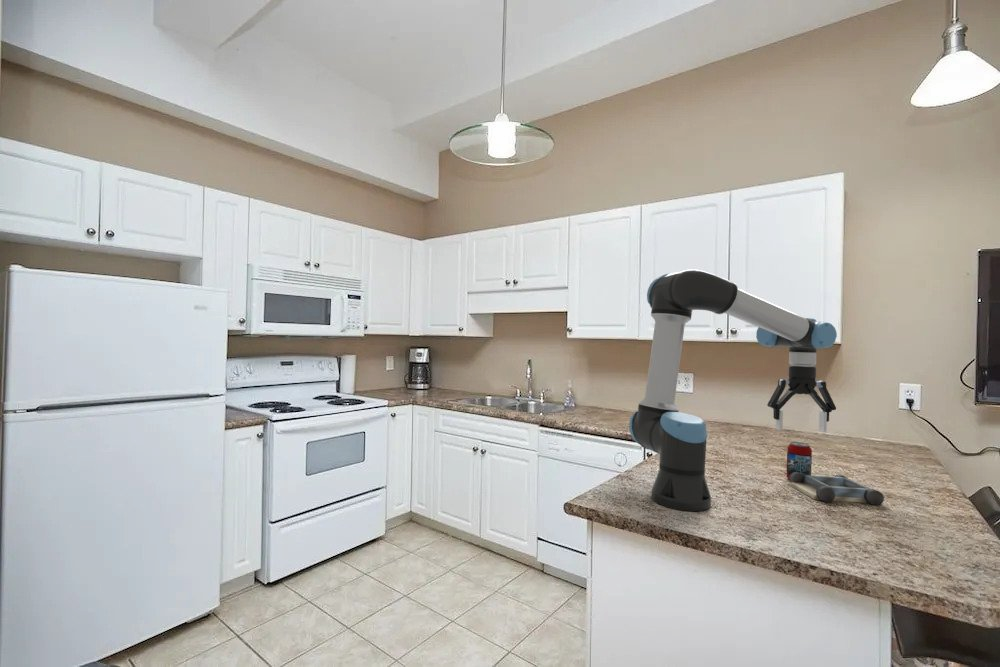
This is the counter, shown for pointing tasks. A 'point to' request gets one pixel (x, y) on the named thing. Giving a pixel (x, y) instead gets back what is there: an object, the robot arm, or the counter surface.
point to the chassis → (834, 489)
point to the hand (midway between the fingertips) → (800, 430)
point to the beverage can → (799, 458)
